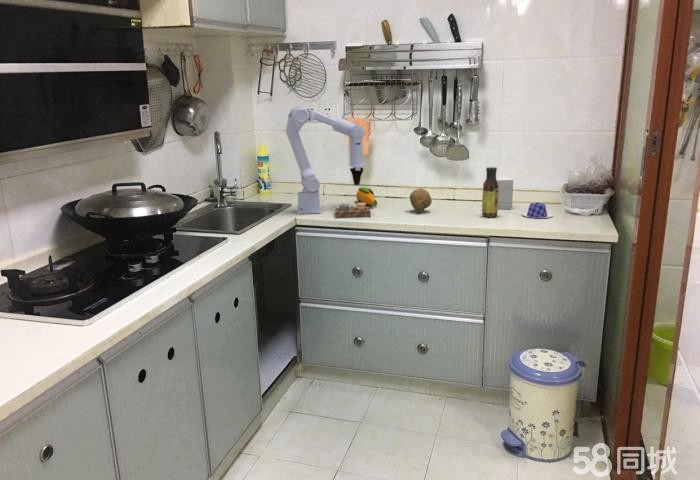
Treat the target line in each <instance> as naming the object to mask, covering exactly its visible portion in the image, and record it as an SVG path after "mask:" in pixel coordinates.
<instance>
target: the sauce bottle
mask: <svg viewBox="0 0 700 480" xmlns="http://www.w3.org/2000/svg"><path fill="white" fill-rule="evenodd" d="M485 169H486V170H485V171H486V175H485V177H486V179H485V180H484V182H483V184H482V187H483V188H482V198H481V199H482V200H481V201H482V202H481V203H482V204H481V212H482V213H481V215H482V217H486V218H496V217H497V216H498V210H499V209H498V193H499V186H498V183H497V180H496V178H497V171H498V167H496V166H486V168H485Z"/></svg>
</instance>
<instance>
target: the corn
mask: <svg viewBox="0 0 700 480" xmlns="http://www.w3.org/2000/svg"><path fill="white" fill-rule="evenodd" d="M374 196H375V193H374V191H373V190H372V189H371V188H368V187H367V186H364V187H363V186H361V187H359V188H358V190H357V191H356V199H357V201H358V203H359V202H363V203H366V205H371V206H377V205H378V201H377V200H376V198H375V197H374Z"/></svg>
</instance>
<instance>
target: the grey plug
mask: <svg viewBox="0 0 700 480" xmlns="http://www.w3.org/2000/svg"><path fill="white" fill-rule="evenodd" d="M339 207H340V211H349V207H350V205H349V204H347V203H346V204H345V203H344V204H339Z"/></svg>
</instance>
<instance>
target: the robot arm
mask: <svg viewBox="0 0 700 480" xmlns="http://www.w3.org/2000/svg"><path fill="white" fill-rule="evenodd" d="M313 121H317V122H319V123H323V124H326V125H328V126H331V127H332V130H333V131H335V132H337V133H340V134H343V135H345V136H348V137H349V164H348V165H349V166H350V167H351V168H349V170H350V173H351V176H352V179H353V185H354V186H360V184H361V179H362V174H363V171H364V168H363V166H366V165H367V164H366V162H364V141H363V139H364V136H365V135H366V134H365V133H366V132H365V130H364V128H363V126H362V125H359V124H356V123H355V122H353V121H348V120H346V118H345V117H344V116H343V117H336V118H333V117H331V116H328V115H325V114H324V113H321V112H319V111H316V110H314V109H308V108H305V107H300V106H295V107H293V108H292V109H291V110H290V112H289V114H288V115H287V123H286V127H285V134H286V136H287V139H288V142H289V145H290V147H291V150H292V153H293V155H294V158H295V160H296V163H297V166H298V168H299V172H300V173H299V174H300V177H301V179H300V180H301V181H300V183H301V185H302V187H303V189H302V190H301V191H298V192H297V209H298V215H304V214H305V215H306V214H321V213H322V210H321V204H320V203H321V202H320V201H321V200H320V199H321V198H320V186H321V181H320V180H319V178H317V177H316V175H315V172H314V171H313V169H312V167H311V163H310V161H309V158H308V156H307V153H306V150H305V147H304V144H303V141H302V138H301V136H300V132H301V129H302V127H303V126H304V125H305V124H306V123H307V122H313Z"/></svg>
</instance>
